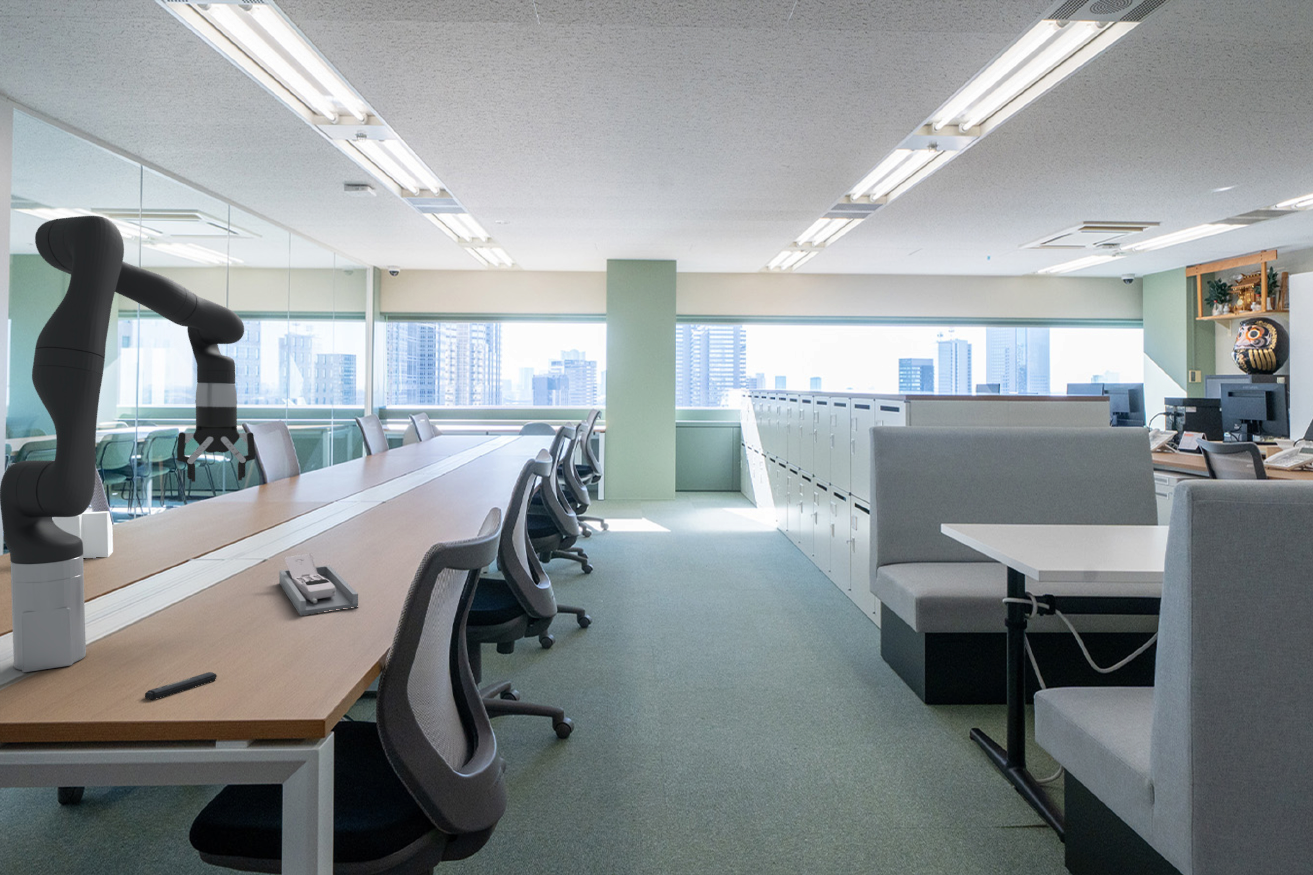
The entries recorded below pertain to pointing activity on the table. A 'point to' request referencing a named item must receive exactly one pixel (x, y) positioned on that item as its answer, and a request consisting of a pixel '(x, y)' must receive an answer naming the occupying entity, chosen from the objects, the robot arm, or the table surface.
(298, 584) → the mobile phone
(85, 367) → the robot arm
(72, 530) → the corner bracket
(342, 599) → the phone dock
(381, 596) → the table surface
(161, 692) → the dark grey rounded bar
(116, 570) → the table surface
